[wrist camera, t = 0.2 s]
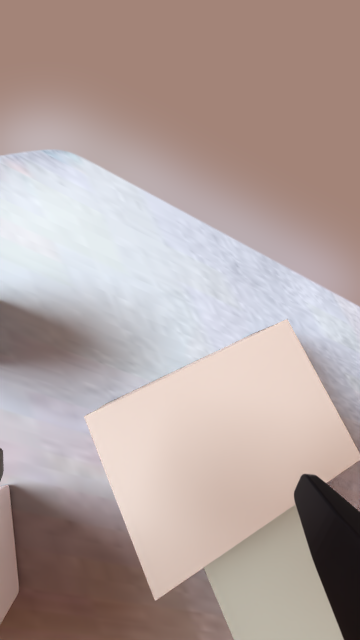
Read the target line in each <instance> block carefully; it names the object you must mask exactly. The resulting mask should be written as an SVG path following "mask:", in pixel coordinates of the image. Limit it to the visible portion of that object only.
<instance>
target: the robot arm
mask: <svg viewBox="0 0 360 640" xmlns="http://www.w3.org/2000/svg"><path fill="white" fill-rule="evenodd" d="M2 475H3V450H2V449H1V448H0V480H1V478H2ZM294 501H295V504H296V507H297V511H298V514H299V517H300V520H301V524H302V527H303V530H304V534H305V537H306V540H307V543H308V547H309V550H310V553H311V556H312V559H313V562H314V564H315V567H316V570H317V572H318V575H319V577H320V580H321V583H322V585H323V588H324V590H325V593H326V595H327V598H328V601H329V603H330V606H331V608H332V611H333V613H334V616H335V618H336V621H337V624H338V626H339V629H340V631H341V634H342V636H343V639H344V640H360V512H359V511H358V510H357V509H356V508H355V507H353V506H352V505H351V504H350V503H349V502H347V501H346V500H345V499H344V498H343V497H342V496H340V495H339V494H338V493H337V492H336V491H335V490H333V489H332V488H331V487H330V486H329V485H327V484H326V483H325V482H324V481H323V480H322V479H320V478H319V477H318V476H316V475H314V474H303V475H301V477H300V479H299V482H298V484H297V486H296V488H295V491H294Z"/></svg>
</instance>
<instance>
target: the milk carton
mask: <svg viewBox="0 0 360 640" xmlns="http://www.w3.org/2000/svg"><path fill="white" fill-rule="evenodd" d="M18 592H19V581H18V571H17V561H16V550H15V540H14V530H13V520H12V510H11V500H10V491H9V486H8V485H5V486H1V487H0V624H1V622H2V621H3V619H4V617H5V615H6V614H7V612H8V610H9V608H10V607H11V605H12V603H13V602H14V600H15V598H16V596H17V594H18Z"/></svg>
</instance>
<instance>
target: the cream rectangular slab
mask: <svg viewBox="0 0 360 640" xmlns="http://www.w3.org/2000/svg"><path fill="white" fill-rule="evenodd" d="M204 570H205V572H206V575H207V577H208V579H209V582H210V584H211V587H212V589H213V591H214V594H215V596H216V598H217V601H218V603H219V606H220V608H221V610H222V613H223V615H224V618H225V620H226V622H227V625H228V627H229V629H230V632H231V634H232V637H233V639H234V640H344V639H343V636H342V634H341V631H340V629H339V626H338V624H337V621H336V618H335V616H334V613H333V611H332V608H331V606H330V603H329V601H328V598H327V595H326V593H325V590H324V588H323V585H322V583H321V580H320V577H319V575H318V572H317V570H316V567H315V564H314V562H313V559H312V556H311V553H310V550H309V547H308V543H307V540H306V537H305V534H304V530H303V527H302V524H301V520H300V517H299V514H298V511H297V507H296V504H295V505H294V506H292V507H291V508H289V509H288V510H286V511H285V512H284V513H282V514H281V515H279V516H278V517H276V518H275V519H273V520H272V521H270V522H269V523H268V524H266V525H265V526H263V527H262V528H260V529H259V530H257V531H256V532H254V533H253V534H252V535H250V536H249V537H247V538H246V539H244V540H243V541H241V542H240V543H238V544H237V545H236V546H234V547H233V548H231V549H230V550H228V551H227V552H225V553H224V554H223V555H221V556H220V557H218V558H217V559H215V560H214V561H212V562H211V563H209V564H208V565H207V566H205V567H204Z"/></svg>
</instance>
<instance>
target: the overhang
mask: <svg viewBox="0 0 360 640" xmlns="http://www.w3.org/2000/svg"><path fill="white" fill-rule="evenodd" d="M84 418H85V420H86V423H87V426H88V428H89V431H90V433H91V436H92V439H93V441H94V444H95V446H96V449H97V452H98V454H99V457H100V459H101V462H102V465H103V467H104V470H105V472H106V475H107V478H108V480H109V483H110V485H111V488H112V491H113V493H114V496H115V498H116V501H117V504H118V506H119V509H120V511H121V514H122V517H123V519H124V522H125V524H126V527H127V530H128V532H129V535H130V537H131V540H132V543H133V545H134V548H135V550H136V553H137V556H138V558H139V561H140V563H141V566H142V569H143V571H144V574H145V576H146V579H147V582H148V584H149V587H150V589H151V592H152V595H153V597H154V600H155V601H156V600H157V599H159V598H160V597H161V596H163V595H164V594H166V593H167V592H169V591H170V590H172V589H173V588H175V587H176V586H177V585H179V584H180V583H182V582H183V581H185V580H186V579H188V578H189V577H191V576H192V575H193V574H195V573H196V572H198V571H199V570H201V569H202V568H204V567H205V566H207V565H208V564H209V563H211V562H212V561H214V560H215V559H217V558H218V557H220V556H221V555H223V554H224V553H225V552H227V551H228V550H230V549H231V548H233V547H234V546H236V545H237V544H238V543H240V542H241V541H243V540H244V539H246V538H247V537H249V536H250V535H252V534H253V533H254V532H256V531H257V530H259V529H260V528H262V527H263V526H265V525H266V524H268V523H269V522H270V521H272V520H273V519H275V518H276V517H278V516H279V515H281V514H282V513H284V512H285V511H286V510H288V509H289V508H291V507H292V506H294V505H295V501H294V491H295V488H296V486H297V484H298V482H299V479H300V477H301V475H303V474H314V475H316V476H318V477H319V478H320V479H322V480H323V481H324V482H325V483H327V482H329V481H330V480H332V479H333V478H334V477H336V476H337V475H339V474H340V473H342V472H343V471H345V470H346V469H348V468H349V467H350V466H352V465H353V464H355V463H356V462H358V461H359V460H360V453H359V451H358V449H357V447H356V445H355V443H354V442H353V440H352V438H351V436H350V434H349V432H348V431H347V429H346V427H345V425H344V423H343V421H342V419H341V418H340V416H339V414H338V412H337V410H336V408H335V407H334V405H333V403H332V401H331V399H330V397H329V395H328V394H327V392H326V390H325V388H324V386H323V384H322V382H321V381H320V379H319V377H318V375H317V373H316V371H315V370H314V368H313V366H312V364H311V362H310V360H309V358H308V357H307V355H306V353H305V351H304V349H303V347H302V346H301V344H300V342H299V340H298V338H297V336H296V334H295V333H294V331H293V329H292V327H291V325H290V323H289V321H288V320H287V319H286V320H284V321H282V322H279V323H277V324H275V325H273V326H270V327H268V328H266V329H263V330H261V331H258V332H256V333H254V334H251V335H249V336H247V337H245V338H243V339H241V340H239V341H237V342H235V343H232V344H230V345H228V346H226V347H224V348H222V349H220V350H218V351H216V352H214V353H212V354H209V355H207V356H205V357H203V358H201V359H199V360H197V361H195V362H193V363H191V364H188V365H186V366H184V367H182V368H180V369H178V370H176V371H174V372H172V373H170V374H168V375H165V376H163V377H161V378H159V379H157V380H155V381H153V382H151V383H149V384H147V385H145V386H142V387H140V388H138V389H136V390H134V391H132V392H130V393H128V394H126V395H124V396H121V397H119V398H117V399H115V400H113V401H111V402H109V403H107V404H105V405H103V406H102V407H100V408H99V409H97V410H96V411H94V412H92V413H90V414H87V415H86V416H84Z"/></svg>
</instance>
